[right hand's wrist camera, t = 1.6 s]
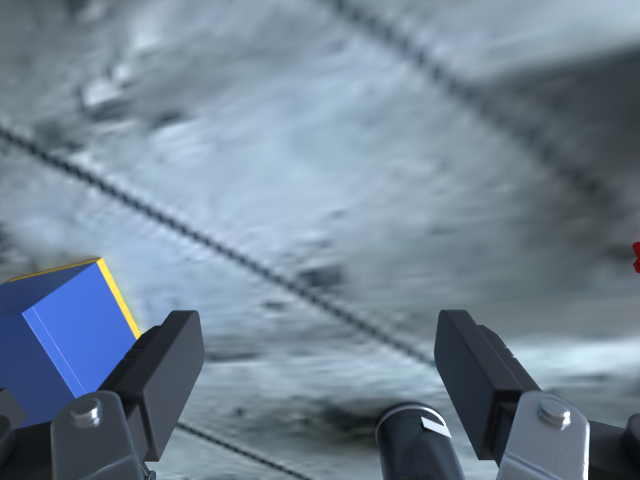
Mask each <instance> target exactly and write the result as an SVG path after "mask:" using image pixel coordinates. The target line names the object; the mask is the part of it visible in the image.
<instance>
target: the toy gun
mask: <svg viewBox="0 0 640 480" xmlns="http://www.w3.org/2000/svg"><path fill="white" fill-rule="evenodd" d="M633 248H634V251H635V253H636V256H637V260H636V262H635V263H634V264H633V266H634V267H635V270H636V272H637V273H640V242H636V243H634V244H633Z"/></svg>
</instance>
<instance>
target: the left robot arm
mask: <svg viewBox="0 0 640 480" xmlns="http://www.w3.org/2000/svg"><path fill="white" fill-rule="evenodd" d="M0 415H3V416H6V417H7V418H8V419H9V420H10V422H11V425H12V427H13V430H15V429H17V428H18V427H19V426H20V425H21V424H22V423H23V422H24V421H25V420H26V419H27V418H28V416H27V414H26V413H25V412H24V410H23V409H22V408H21V406H20V405H19V404H18V402H17V401H16V400H15V398H14V397H13V396H12V395H11V393H10V392H9V391H8V389H7V388H6V387H5V388H1V389H0Z"/></svg>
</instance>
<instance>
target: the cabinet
mask: <svg viewBox="0 0 640 480" xmlns="http://www.w3.org/2000/svg"><path fill="white" fill-rule="evenodd" d="M140 336H141V334H140V332H139V330H138V328H137V326H136V324H135V322H134V320H133V318H132V316H131V314H130V312H129V310H128V308H127V306H126V304H125V302H124V300H123V298H122V296H121V294H120V292H119V290H118V288H117V286H116V284H115V282H114V280H113V278H112V276H111V274H110V272H109V270H108V268H107V267H106V265H105V263H104V261H103V259H102V258H98V259H94V260H90V261H85V262H81V263H77V264H73V265H68V266H64V267H60V268H55V269H51V270H47V271H43V272H38V273H34V274H30V275H26V276H21V277H17V278H13V279H11V280H9V281H7V282H5V283H4V284H2V285H0V389H1V388H5V387H6V388H7V389H8V391H9V392H10V393H11V395H12V396H13V397H14V398H15V400H16V401H17V402H18V404H19V405H20V406H21V408H22V409H23V410H24V412H25V413H26V414H27V416H28V418H27V419H26V420H25V421H24V422H23V423H22V424H21V425H20V426H19V427H18V428H17V429H19V428H23V427H27V426H31V425H36V424H40V423H44V422H48V421H51V420H53V418H54V417H55V415H56V414H57V413H58V411H60V410H61V409H62V408H63V407H64V406H65V405H66V404H68V403H69V402H71V401H72V400H74V399H76V398H78V397H80V396H82V395H85V394H88V393H91V392H95V391H96V390H97V389H98V388H99V387H100V385H101V384H102V383H103V382H104V380H105V379H106V378H107V377H108V375H109V374H110V373H111V372H112V370H113V369H114V368H115V367H116V365H117V364H118V363H119V362H120V360H121V359H124V356H125V354H126V353H127V352H128V351H129V349H131V348H132V346H133V344H134V343H135V342H136V341H137V339H138V338H139V337H140Z"/></svg>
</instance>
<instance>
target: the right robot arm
mask: <svg viewBox="0 0 640 480" xmlns="http://www.w3.org/2000/svg"><path fill="white" fill-rule="evenodd" d="M434 358H435V364H436V367H437V370H438V372H439V374H440V376H441V379H442V381H443V383H444V385H445V387H446V389H447V392H448V394H449V396H450V398H451V400H452V403H453V405H454V407H455V409H456V411H457V414H458V416H459V418H460V420H461V422H462V425H463V427H464V429H465V431H466V433H467V435H468V438H469V440H470V442H471V444H472V446H473V449H474V451H475V453H476V455H477V457H478V460H495V462H496V464H497V466H498V468H499V471H498V474H497V478H496V480H640V414H634V415H632V416H631V417H630V418H629V420H628V423H627V425H626V428H625V429H623V428H619V427H615V426H611V425H607V424H603V423H598V422H594V421H590V420H587V418H586V417H585V415H584V414H583V413H582V411H580V410H579V409H578V408H577V407H576V406H575V405H574V404H572V403H571V402H569V401H568V400H566V399H564V398H562V397H560V396H558V395H555V394H552V393H549V392H545V391H542V390H541V389H540V388H539V387H538V385H537V384H536V383H535V382H534V380H533V379H532V378H531V377H530V375H529V374H528V373H527V372H526V370H525V369H524V368H523V367H522V365H521V364H520V363H519V361H518V360H517V359H516V358H514V355H513V354H512V353H511V351H510V350H509V349H508V348H506V345H505V344H504V343H503V341H502V340H501V339H500V338H499V336H498V335H497V334H495V333H494V332H492V331H491V330H490V329H488V328H487V327H485V326H484V325H477V324H476V323H475V322H474V320H473V319H472V317H471V316H470V315H469V313H468V312H467V311H466V310H441V311H440V313H439V318H438V325H437V333H436V340H435V347H434ZM203 360H204V346H203V339H202V332H201V325H200V317H199V313H198V312H197V311H196V310H174V311H172V312H171V313H170V314H169V315H168V317H167V318H166V319H165V321H164V322H163V323H162V325H161V326H154V327H152V328H151V329H149V330H148V331H146V332H145V333H143V334H142V335H141V336H140V337H139V338H138V339H137V341H136V342H135V343H134V344H133V346H132V348H131V349H129V351H128V352H127V353H126V354H125V356H124V359H121V360H120V362H119V363H118V364H117V365H116V367H115V368H114V369H113V370H112V372H111V373H110V374H109V375H108V377H107V378H106V379H105V380H104V382H103V383H102V384H101V385H100V387H99V388H98V389H97V390H96V391H95V392H91V393H88V394H85V395H82V396H80V397H78V398H76V399H74V400H72V401H71V402H69V403H68V404H66V405H65V406H64V407H63V408H62V409H61V410H60V411H58V413H57V414H56V415H55V417H54V418H53V420H51V421H48V422H44V423H40V424H36V425H31V426H27V427H23V428H19V429H15V430H13V427H12V425H11V422H10V420H9V419H8V418H7V417H6V416H3V415H0V480H144V478H143V474H142V471H141V467H140V465H141V463H142V462H159V460H160V458H161V455H162V453H163V451H164V449H165V447H166V445H167V442H168V440H169V438H170V436H171V434H172V432H173V429H174V427H175V425H176V423H177V421H178V419H179V416H180V414H181V412H182V410H183V408H184V406H185V403H186V401H187V399H188V397H189V395H190V393H191V390H192V388H193V386H194V384H195V382H196V380H197V377H198V375H199V373H200V371H201V369H202V365H203ZM375 438H376V442H377V445H378V451H379V456H380V463H381V469H382V474H383V480H466V478H465V475H464V473H463V470H462V468H461V465H460V463H459V460H458V458H457V455H456V453H455V450H454V448H453V445H452V442H451V440H450V438H451V436H450V433H449V431H448V429H447V427H446V425H445V423H444V420H443V418H442V416H441V415H440V413H439V412H438V411H437V410H435V409H434V408H432V407H430V406H428V405H425V404H421V403H405V404H400V405H397V406H395V407H392V408H390V409H389V410H387V411H386V412H385V413H383V414H382V415H381V416H380V418H379V419H378V421H377V423H376V425H375Z"/></svg>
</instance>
